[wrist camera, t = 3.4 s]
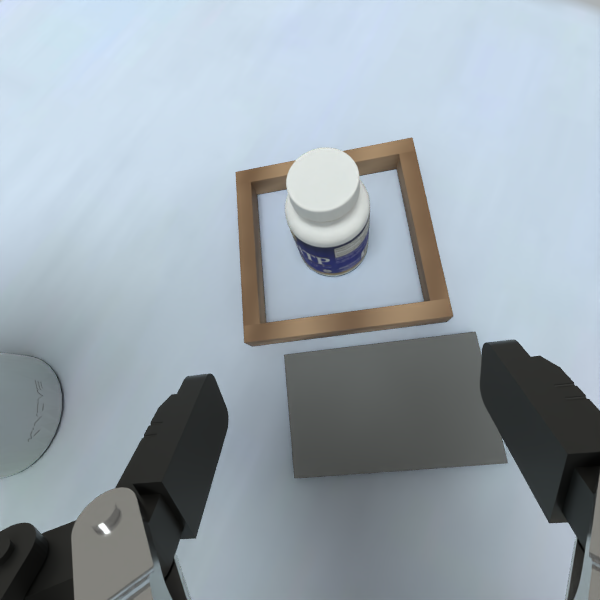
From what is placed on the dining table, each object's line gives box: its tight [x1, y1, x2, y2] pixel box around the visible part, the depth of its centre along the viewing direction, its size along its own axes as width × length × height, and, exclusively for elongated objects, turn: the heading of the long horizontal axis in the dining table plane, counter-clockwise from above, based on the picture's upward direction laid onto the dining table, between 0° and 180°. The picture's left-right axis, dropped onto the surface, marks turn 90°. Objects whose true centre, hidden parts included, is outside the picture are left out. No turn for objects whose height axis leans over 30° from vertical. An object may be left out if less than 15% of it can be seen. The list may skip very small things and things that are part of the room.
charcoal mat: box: [284, 332, 508, 478], centre depth 23 cm, size 13×8×1 cm, turn 96°
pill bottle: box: [285, 148, 370, 276], centre depth 23 cm, size 5×5×9 cm
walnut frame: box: [236, 138, 453, 346], centre depth 26 cm, size 14×14×2 cm
